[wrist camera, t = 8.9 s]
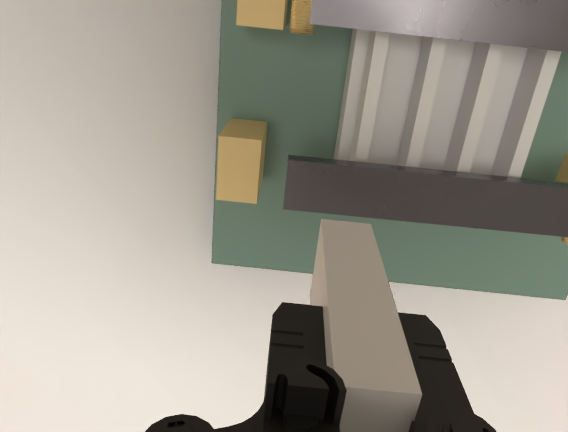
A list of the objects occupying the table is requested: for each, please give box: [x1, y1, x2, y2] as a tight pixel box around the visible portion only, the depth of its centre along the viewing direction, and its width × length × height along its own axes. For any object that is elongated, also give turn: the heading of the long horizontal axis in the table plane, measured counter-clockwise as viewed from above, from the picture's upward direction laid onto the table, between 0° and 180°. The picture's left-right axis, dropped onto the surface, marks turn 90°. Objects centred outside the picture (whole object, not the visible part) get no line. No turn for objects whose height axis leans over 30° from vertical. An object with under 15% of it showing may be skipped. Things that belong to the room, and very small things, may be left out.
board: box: [212, 0, 568, 300], centre depth 23 cm, size 23×22×5 cm
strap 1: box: [289, 0, 568, 52], centre depth 18 cm, size 3×14×1 cm, turn 84°
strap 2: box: [283, 155, 568, 244], centre depth 22 cm, size 3×14×1 cm, turn 84°
